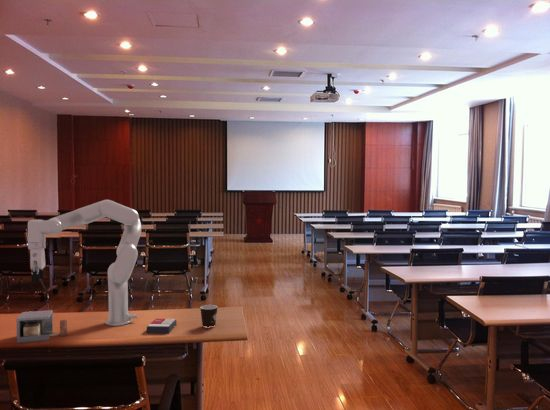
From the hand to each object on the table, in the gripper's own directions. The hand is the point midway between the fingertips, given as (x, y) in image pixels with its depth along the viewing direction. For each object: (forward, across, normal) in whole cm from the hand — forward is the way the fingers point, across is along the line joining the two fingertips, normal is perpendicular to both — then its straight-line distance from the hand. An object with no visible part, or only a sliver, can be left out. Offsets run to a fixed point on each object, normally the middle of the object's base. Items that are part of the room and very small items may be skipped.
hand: (37, 280), depth 225 cm
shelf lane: (+25, -8, -1) cm, 27 cm away
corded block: (+25, -8, -5) cm, 27 cm away
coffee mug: (+26, -12, -82) cm, 87 cm away
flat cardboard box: (+26, -10, -58) cm, 64 cm away
